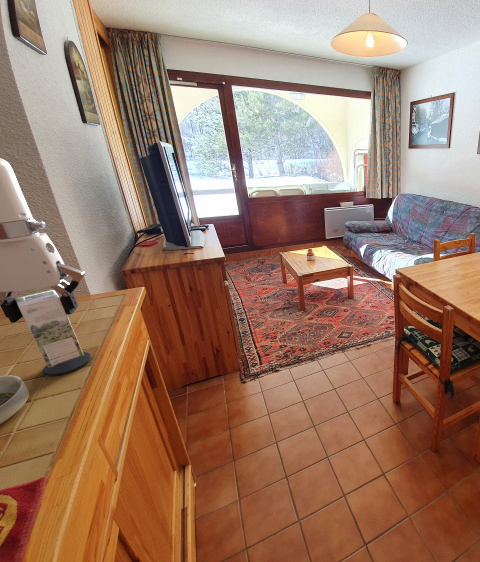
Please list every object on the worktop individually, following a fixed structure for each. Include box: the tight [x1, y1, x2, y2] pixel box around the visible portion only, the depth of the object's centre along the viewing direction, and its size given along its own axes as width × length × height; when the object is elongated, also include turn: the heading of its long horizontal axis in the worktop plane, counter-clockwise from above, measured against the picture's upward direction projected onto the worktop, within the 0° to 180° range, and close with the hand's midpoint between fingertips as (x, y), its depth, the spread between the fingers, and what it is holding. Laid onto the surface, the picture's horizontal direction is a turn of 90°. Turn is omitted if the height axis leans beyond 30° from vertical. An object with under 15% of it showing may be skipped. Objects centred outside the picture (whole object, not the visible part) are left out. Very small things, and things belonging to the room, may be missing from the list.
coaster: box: [42, 351, 92, 377], centre depth 67 cm, size 8×8×1 cm
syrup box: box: [15, 289, 84, 368], centre depth 64 cm, size 6×6×14 cm
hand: (45, 315), depth 62 cm, fingers closed on syrup box, 7 cm apart
